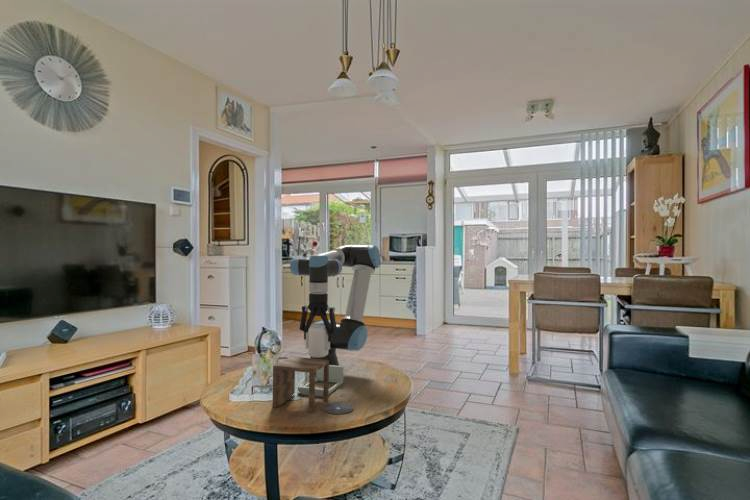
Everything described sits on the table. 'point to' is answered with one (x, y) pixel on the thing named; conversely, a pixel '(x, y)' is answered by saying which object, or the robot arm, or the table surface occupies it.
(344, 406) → the coaster
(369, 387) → the table surface
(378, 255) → the robot arm
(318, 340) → the beverage can
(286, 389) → the wooden step stool
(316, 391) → the grey blocky pieces
